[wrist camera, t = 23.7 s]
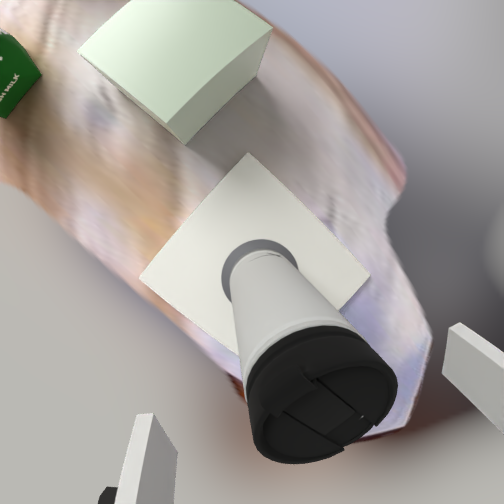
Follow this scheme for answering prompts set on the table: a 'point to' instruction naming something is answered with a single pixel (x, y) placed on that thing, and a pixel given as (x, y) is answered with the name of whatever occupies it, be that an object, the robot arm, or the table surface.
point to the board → (247, 249)
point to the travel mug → (302, 364)
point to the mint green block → (179, 57)
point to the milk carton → (14, 73)
